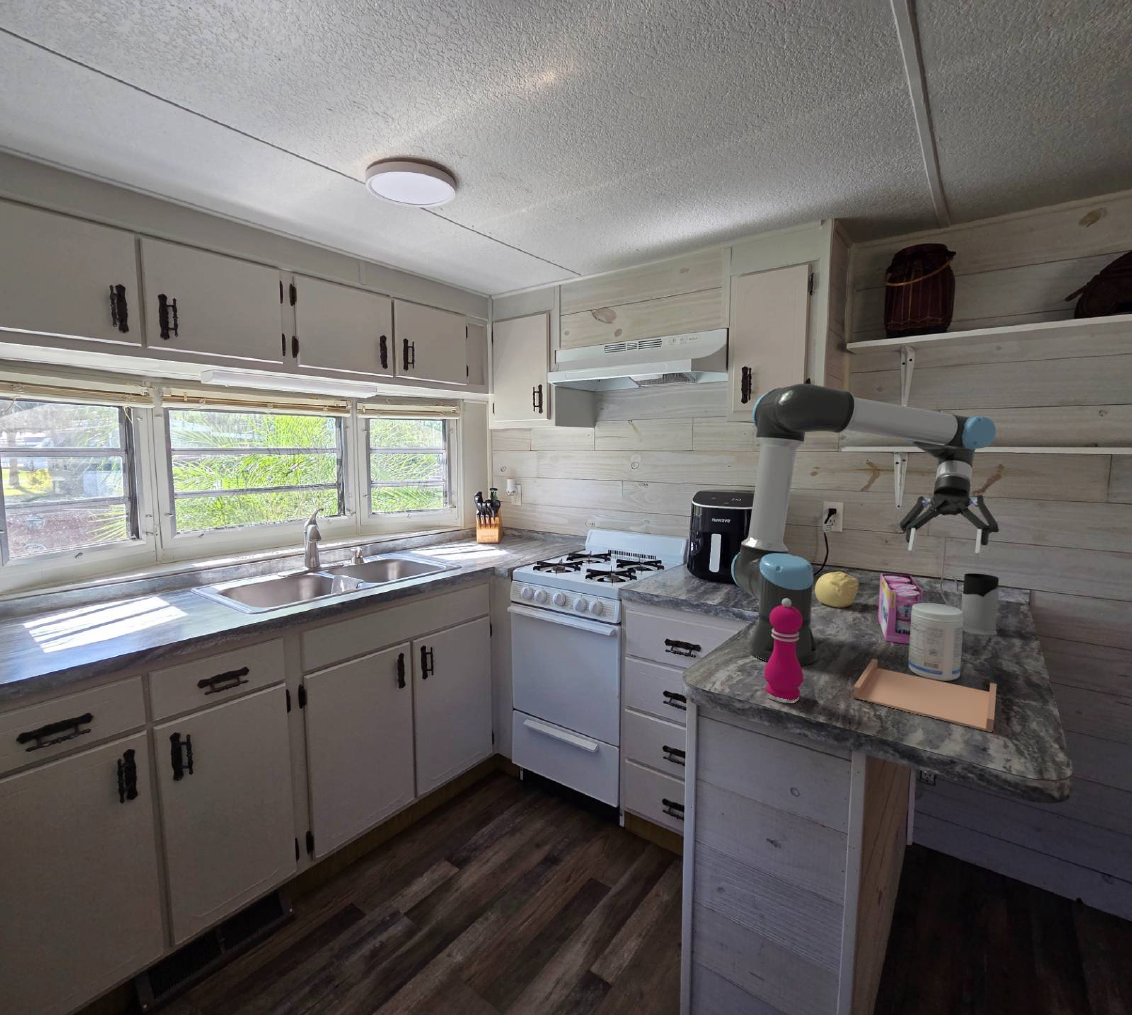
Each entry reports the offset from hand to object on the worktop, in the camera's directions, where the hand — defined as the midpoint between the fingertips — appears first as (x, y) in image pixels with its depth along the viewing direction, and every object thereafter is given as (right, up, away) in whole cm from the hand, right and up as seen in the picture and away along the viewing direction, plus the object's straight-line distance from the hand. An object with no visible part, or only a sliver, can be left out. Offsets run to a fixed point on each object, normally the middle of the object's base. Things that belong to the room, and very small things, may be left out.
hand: (943, 554), depth 135 cm
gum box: (-1, -22, +18) cm, 29 cm away
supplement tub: (-10, -25, -12) cm, 30 cm away
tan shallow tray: (-20, -26, -24) cm, 41 cm away
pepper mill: (-48, -26, -24) cm, 60 cm away
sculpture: (-5, -20, +43) cm, 48 cm away
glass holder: (+20, -22, +20) cm, 36 cm away
